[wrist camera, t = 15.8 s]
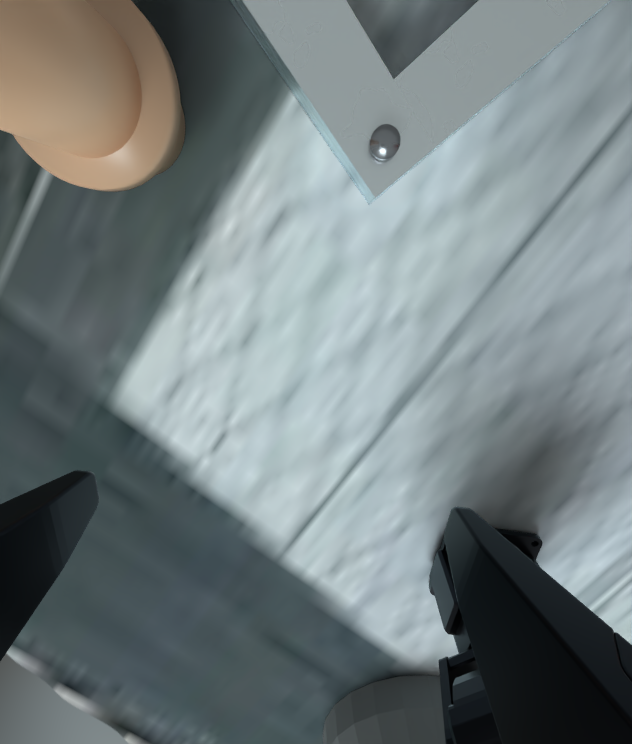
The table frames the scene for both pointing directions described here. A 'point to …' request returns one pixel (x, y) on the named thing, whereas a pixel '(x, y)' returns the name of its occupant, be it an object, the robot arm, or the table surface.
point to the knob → (89, 91)
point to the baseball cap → (389, 713)
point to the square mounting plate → (403, 74)
